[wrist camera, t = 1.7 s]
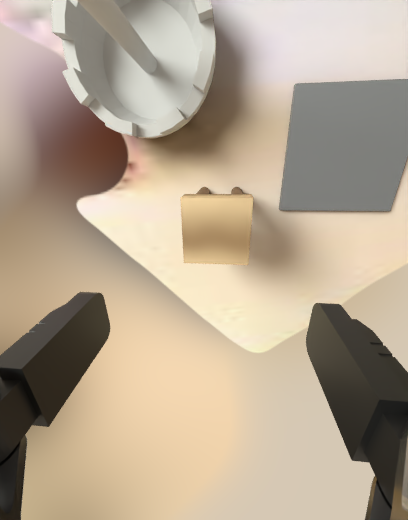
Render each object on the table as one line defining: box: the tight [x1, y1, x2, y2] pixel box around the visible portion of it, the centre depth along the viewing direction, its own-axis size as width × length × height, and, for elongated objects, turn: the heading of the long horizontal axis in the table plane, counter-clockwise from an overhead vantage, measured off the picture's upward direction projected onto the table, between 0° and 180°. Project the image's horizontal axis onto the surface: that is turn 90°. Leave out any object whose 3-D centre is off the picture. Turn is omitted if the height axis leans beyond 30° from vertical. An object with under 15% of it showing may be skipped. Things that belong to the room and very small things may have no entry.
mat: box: [279, 79, 408, 211], centre depth 24 cm, size 12×12×1 cm
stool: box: [181, 187, 253, 265], centre depth 23 cm, size 6×6×10 cm
